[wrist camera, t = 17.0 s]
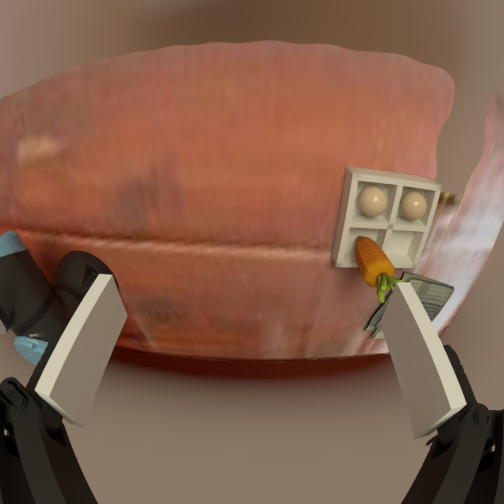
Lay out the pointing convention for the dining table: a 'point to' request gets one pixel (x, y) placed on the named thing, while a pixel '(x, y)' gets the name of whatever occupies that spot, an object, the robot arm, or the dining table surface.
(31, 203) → the dining table surface
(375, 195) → the brown egg left
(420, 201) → the brown egg right
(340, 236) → the carton
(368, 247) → the carrot
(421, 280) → the dish towel
